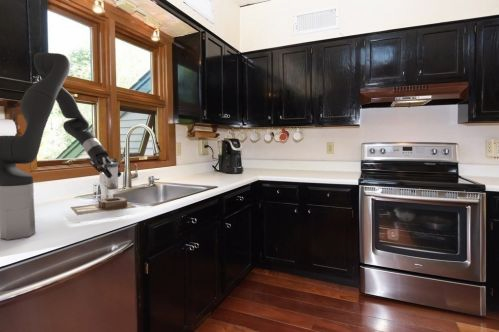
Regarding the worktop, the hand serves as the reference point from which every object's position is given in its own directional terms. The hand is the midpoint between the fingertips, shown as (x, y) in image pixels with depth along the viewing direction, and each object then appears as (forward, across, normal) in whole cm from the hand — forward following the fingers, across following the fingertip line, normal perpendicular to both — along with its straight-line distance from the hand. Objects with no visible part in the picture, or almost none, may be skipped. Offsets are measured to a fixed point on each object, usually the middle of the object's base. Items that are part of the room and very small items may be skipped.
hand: (115, 176), depth 132 cm
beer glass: (-3, +14, +26) cm, 29 cm away
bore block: (+8, -3, +14) cm, 16 cm away
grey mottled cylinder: (+3, 0, +6) cm, 6 cm away
